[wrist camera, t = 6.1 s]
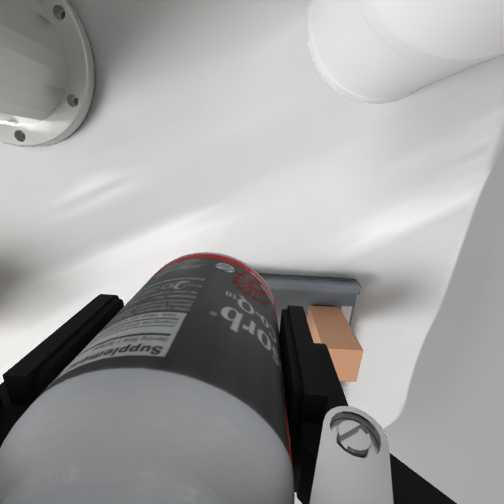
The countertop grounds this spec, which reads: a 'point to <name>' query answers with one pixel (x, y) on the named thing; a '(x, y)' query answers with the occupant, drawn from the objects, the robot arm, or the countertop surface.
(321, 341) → the tab
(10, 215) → the countertop surface
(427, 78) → the jar
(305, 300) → the grey tray
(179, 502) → the pill bottle
